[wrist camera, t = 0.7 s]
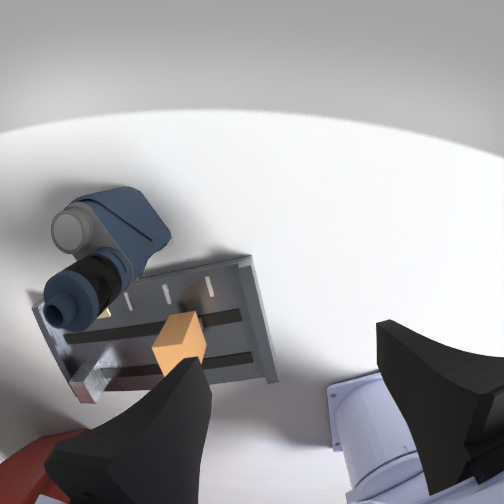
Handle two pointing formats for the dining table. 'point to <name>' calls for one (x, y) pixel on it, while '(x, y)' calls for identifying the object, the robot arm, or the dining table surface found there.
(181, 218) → the dining table surface
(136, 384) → the mixer console
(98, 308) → the vaping device
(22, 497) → the plant pot
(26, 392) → the dining table surface
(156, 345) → the orange fader
